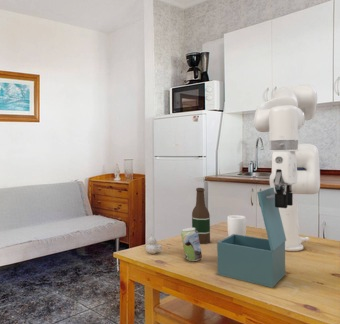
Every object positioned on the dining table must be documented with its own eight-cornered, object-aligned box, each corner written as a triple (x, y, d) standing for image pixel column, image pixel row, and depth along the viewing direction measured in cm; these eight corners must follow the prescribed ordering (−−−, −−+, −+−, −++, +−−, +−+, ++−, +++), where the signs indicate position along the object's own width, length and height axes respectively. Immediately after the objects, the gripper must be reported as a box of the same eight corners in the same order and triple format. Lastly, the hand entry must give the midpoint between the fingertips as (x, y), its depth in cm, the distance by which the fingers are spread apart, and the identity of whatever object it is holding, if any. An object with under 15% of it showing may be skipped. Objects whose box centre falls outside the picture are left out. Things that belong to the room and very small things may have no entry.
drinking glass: (245, 253, 133) (245, 215, 132) (247, 258, 126) (247, 218, 126) (226, 251, 135) (226, 214, 134) (227, 257, 128) (227, 218, 128)
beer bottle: (212, 240, 152) (211, 187, 151) (208, 244, 145) (207, 189, 144) (194, 238, 156) (193, 186, 155) (189, 242, 149) (188, 188, 148)
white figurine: (147, 250, 139) (146, 231, 139) (163, 252, 137) (162, 232, 137) (144, 254, 134) (143, 234, 134) (160, 256, 132) (160, 236, 132)
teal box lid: (257, 192, 102) (274, 189, 98) (270, 187, 111) (287, 185, 108) (270, 250, 100) (289, 249, 96) (283, 240, 110) (301, 239, 106)
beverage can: (203, 263, 123) (202, 230, 122) (182, 262, 124) (181, 230, 124) (201, 257, 129) (200, 226, 128) (181, 256, 130) (180, 226, 130)
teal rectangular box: (217, 274, 112) (217, 242, 111) (233, 263, 121) (233, 233, 121) (272, 287, 100) (272, 251, 100) (285, 274, 110) (285, 241, 109)
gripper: (289, 146, 94) (290, 211, 94) (304, 146, 106) (304, 204, 106) (260, 147, 99) (261, 209, 99) (278, 147, 111) (278, 202, 112)
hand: (283, 205), depth 103 cm, fingers closed on teal box lid, 5 cm apart
